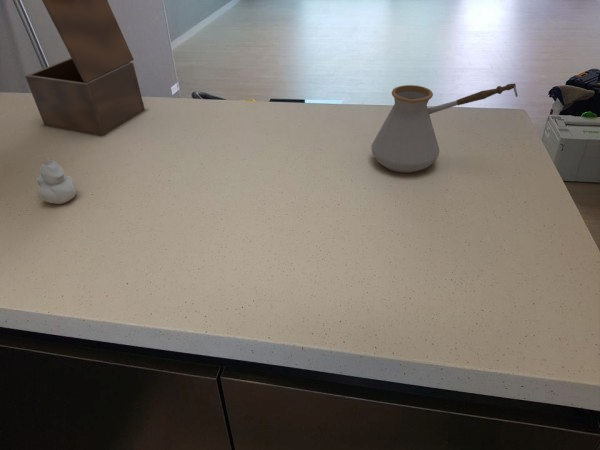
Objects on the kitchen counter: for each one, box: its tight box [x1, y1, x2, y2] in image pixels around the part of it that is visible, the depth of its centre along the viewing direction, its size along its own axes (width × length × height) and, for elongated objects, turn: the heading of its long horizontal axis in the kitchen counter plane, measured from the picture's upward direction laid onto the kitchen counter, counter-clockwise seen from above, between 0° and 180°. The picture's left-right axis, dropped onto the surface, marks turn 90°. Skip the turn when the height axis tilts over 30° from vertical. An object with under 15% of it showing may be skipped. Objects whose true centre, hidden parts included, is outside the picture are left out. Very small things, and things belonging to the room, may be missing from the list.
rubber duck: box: [35, 156, 77, 205], centre depth 71 cm, size 5×7×8 cm
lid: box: [41, 0, 135, 83], centre depth 84 cm, size 16×14×5 cm
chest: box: [24, 57, 146, 137], centre depth 95 cm, size 16×14×11 cm
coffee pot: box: [371, 82, 518, 174], centre depth 75 cm, size 21×12×15 cm, turn 78°
